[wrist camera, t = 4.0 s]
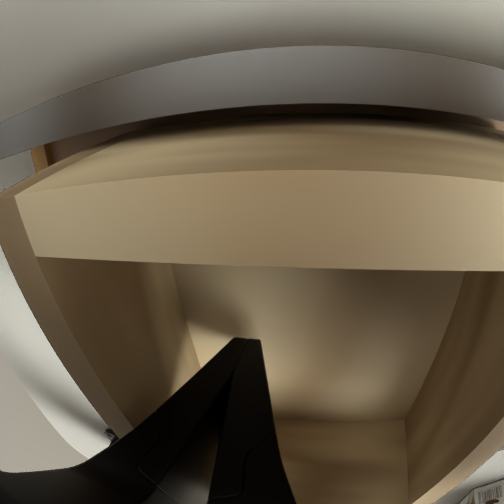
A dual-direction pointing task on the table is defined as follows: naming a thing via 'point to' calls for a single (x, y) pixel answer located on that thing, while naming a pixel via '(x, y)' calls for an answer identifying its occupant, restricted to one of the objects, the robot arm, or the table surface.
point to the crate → (286, 285)
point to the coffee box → (486, 494)
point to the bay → (260, 94)
